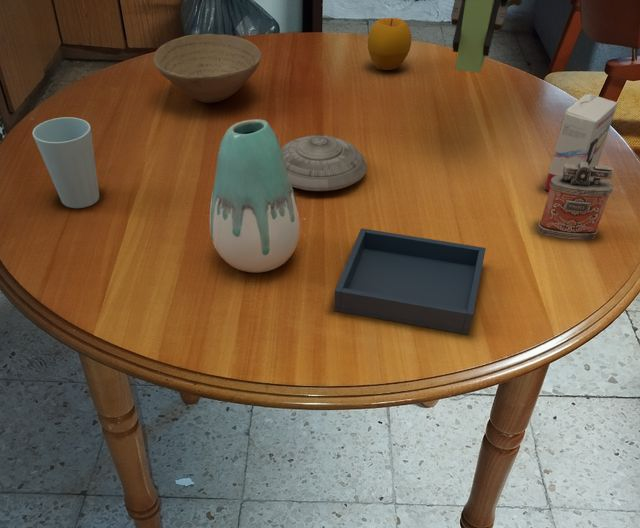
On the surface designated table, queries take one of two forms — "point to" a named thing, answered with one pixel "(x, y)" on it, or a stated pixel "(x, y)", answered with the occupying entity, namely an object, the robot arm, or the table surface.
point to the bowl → (208, 64)
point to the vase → (253, 200)
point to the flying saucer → (322, 163)
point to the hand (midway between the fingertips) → (470, 48)
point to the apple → (389, 43)
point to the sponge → (473, 35)
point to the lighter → (576, 201)
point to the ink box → (582, 134)
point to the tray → (411, 280)
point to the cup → (69, 159)
